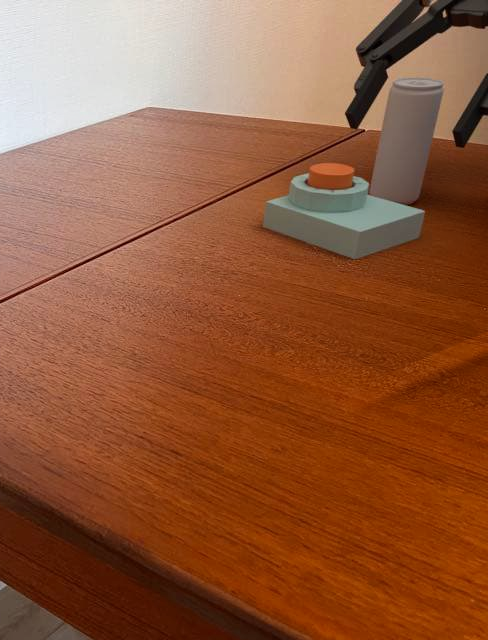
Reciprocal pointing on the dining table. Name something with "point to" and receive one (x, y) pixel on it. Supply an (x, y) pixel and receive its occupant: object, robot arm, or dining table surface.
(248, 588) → the dining table surface
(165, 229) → the dining table surface
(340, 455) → the dining table surface
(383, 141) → the beverage can
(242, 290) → the dining table surface
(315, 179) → the button
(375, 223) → the control box
